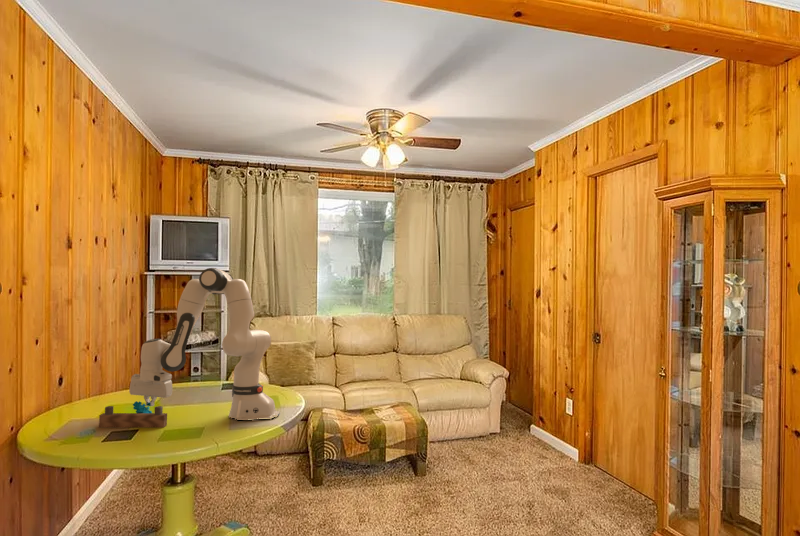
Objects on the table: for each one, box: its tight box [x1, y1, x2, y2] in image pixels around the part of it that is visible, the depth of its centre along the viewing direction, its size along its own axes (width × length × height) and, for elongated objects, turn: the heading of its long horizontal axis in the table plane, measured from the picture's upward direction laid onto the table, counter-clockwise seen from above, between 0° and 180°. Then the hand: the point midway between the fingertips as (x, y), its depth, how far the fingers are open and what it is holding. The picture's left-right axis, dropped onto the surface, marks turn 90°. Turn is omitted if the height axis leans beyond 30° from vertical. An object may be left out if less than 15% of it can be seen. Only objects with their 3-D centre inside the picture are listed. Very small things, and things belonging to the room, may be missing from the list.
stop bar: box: [98, 405, 168, 428], centre depth 194 cm, size 26×3×8 cm, turn 94°
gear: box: [132, 401, 153, 413], centre depth 205 cm, size 11×6×10 cm
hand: (150, 405), depth 209 cm, fingers closed
